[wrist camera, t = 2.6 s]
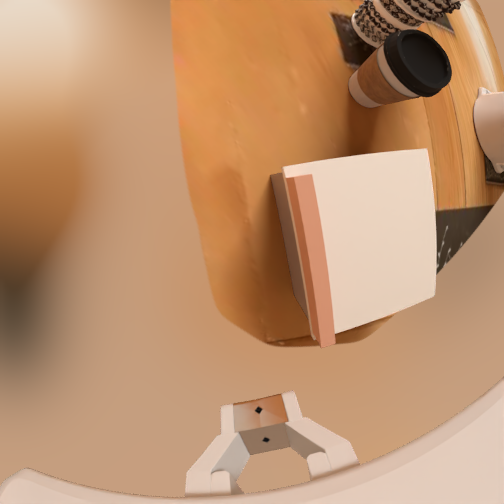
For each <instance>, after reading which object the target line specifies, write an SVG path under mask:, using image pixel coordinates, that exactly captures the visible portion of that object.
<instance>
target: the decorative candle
mask: <svg viewBox="0 0 504 504" xmlns="http://www.w3.org/2000/svg"><path fill="white" fill-rule="evenodd" d="M460 1H461V2H463V1H465V0H365V1H364V3H363V4H362V5H360V6H359V9H357V10H356V11H355V13H354V14H353V15H352V19H351V22H352V25H353V29H354V30H355V31H356V33H357V34H358V35H359V37H361V38H362V39H363V40H364V41H365V42H366V43H368V44H370V45H372V46H374V47H375V48H378V47H379V46H380V45H381V44H383V43H384V41H385V39H386V37H387V36H388V35H390V34H392V33H394V32H397V31H403V30H407V29H414V30H416V29H417V28H418V27H419V26H420V25H421V24H422V23H424V22H432V21H436V19H437V18H438V17H443V15H444V14H445V13H450V14H451V13H452V11H453V10H454V9H460V6H461V4H460Z"/></svg>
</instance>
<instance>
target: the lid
mask: <svg viewBox="0 0 504 504" xmlns="http://www.w3.org/2000/svg"><path fill="white" fill-rule="evenodd" d="M281 169H282V174H283V178H284V183H285V188H286V193H287V197H288V202H289V207H290V212H291V218H292V223H293V228H294V233H295V239H296V244H297V250H298V255H299V261H300V267H301V273H302V279H303V285H304V291H305V297H306V304H307V310H308V317H309V324H310V331H311V336H312V338H313V340H317V341H318V343H319V345H320V347H321V348H323V347H327V346H330V345H333V344H336V342H335V334H336V333H339V332H342V331H345V330H348V329H351V328H354V327H357V326H360V325H363V324H366V323H369V322H371V321H374V320H377V319H380V318H382V317H385V316H388V315H390V314H393V313H395V312H398V311H400V310H403V309H405V308H408V307H410V306H413V305H415V304H417V303H420V302H422V301H424V300H426V299H429V298H431V297H433V296H435V286H436V220H435V205H434V194H433V185H432V177H431V170H430V163H429V157H428V151H427V149H414V150H401V151H391V152H381V153H372V154H363V155H355V156H348V157H340V158H334V159H327V160H321V161H314V162H308V163H302V164H297V165H291V166H286V167H281Z"/></svg>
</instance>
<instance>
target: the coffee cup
mask: <svg viewBox="0 0 504 504" xmlns="http://www.w3.org/2000/svg"><path fill="white" fill-rule="evenodd" d="M451 76H452V70H451V65H450V62H449V59H448V56H447V54H446V53H445V51H444V50H443V48H442V47H441V46H440V45H439V44H438V43H437V42H436V41H435V40H434V39H433V38H432V37H431V36H429V35H428V34H426V33H424V32H422V31H419V30H414V29H407V30H403V31H397V32H394V33H392V34H390V35H388V36H387V37H386V39H385V41H384V43H383V44H381V45H380V46H379V47H378V48H377V49H376V50H375V51H374V52H373V53H372V54H371V56H370V57H369V58H368V59H367V60H366V61H365V62H364V63H363V64H362V65H361V66H360V68H359V69H358V70H357V71H356V72H355V73H354V74H353V75H352V76H351V77H350V79H349V82H348V87H349V91H350V93H351V95H352V97H353V98H354V99H355V101H356V102H358V103H359V104H360V105H362V106H364V107H368V108H374V107H378V106H381V105H385V104H390V103H394V102H399V101H404V100H409V99H414V98H419V97H421V96H422V97H432V96H433V95H435V94H437V93H438V92H439V91H440V90H441V89H442V88H443V87H445V86H446V85H447V84H448V83H449V82H450V80H451Z"/></svg>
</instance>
